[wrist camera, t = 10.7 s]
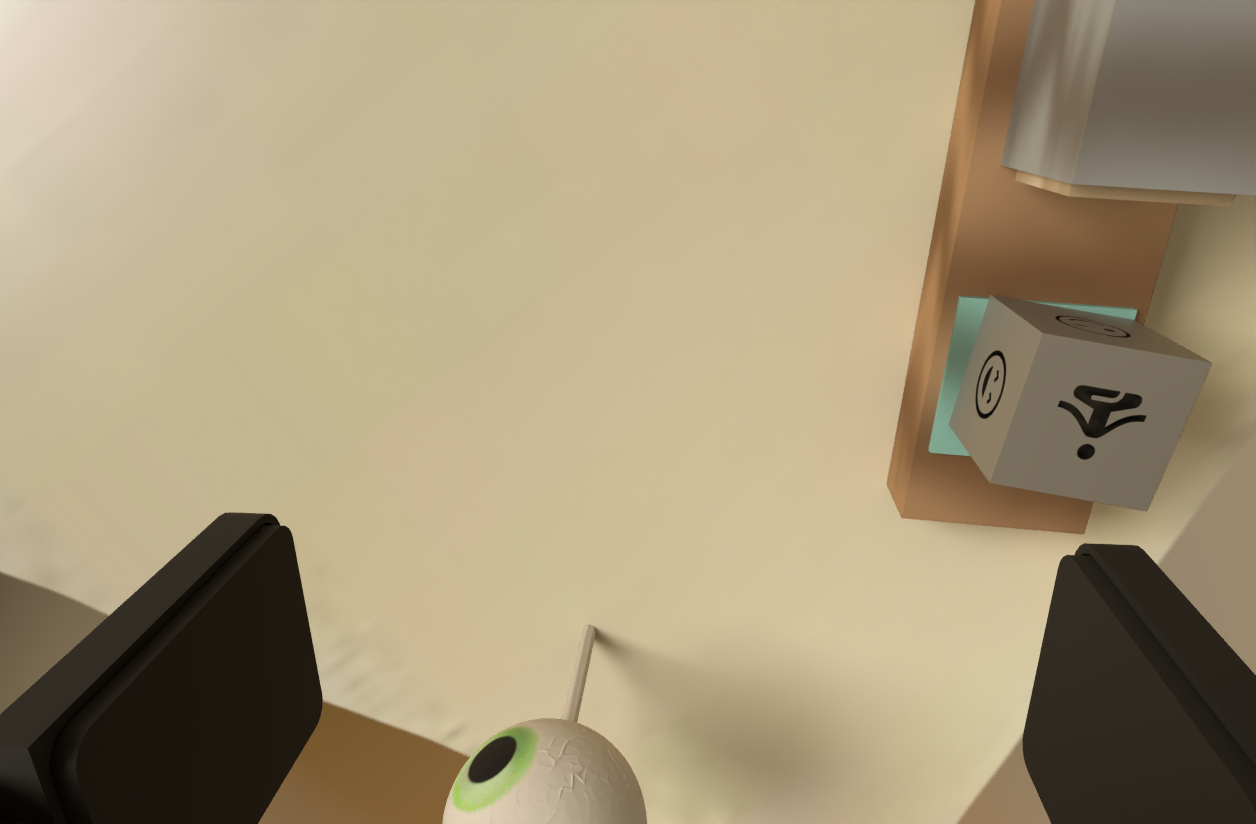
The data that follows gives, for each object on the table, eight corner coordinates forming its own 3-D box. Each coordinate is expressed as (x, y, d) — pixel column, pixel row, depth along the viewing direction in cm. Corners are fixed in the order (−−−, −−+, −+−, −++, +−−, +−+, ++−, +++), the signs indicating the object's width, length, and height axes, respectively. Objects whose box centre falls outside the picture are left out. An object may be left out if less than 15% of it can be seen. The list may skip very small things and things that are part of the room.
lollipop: (613, 542, 38) (557, 802, 24) (691, 657, 40) (682, 960, 26) (487, 605, 40) (368, 880, 26) (567, 712, 42) (497, 1022, 28)
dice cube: (1132, 319, 29) (1212, 363, 25) (1082, 448, 31) (1147, 511, 27) (990, 294, 30) (1042, 333, 25) (948, 424, 31) (989, 482, 27)
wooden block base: (983, -42, 29) (1095, -95, 20) (1195, -32, 28) (1399, -82, 20) (886, 484, 36) (940, 604, 28) (1054, 499, 36) (1160, 625, 27)
